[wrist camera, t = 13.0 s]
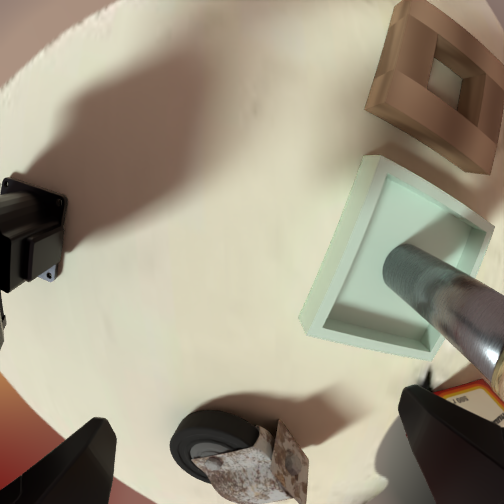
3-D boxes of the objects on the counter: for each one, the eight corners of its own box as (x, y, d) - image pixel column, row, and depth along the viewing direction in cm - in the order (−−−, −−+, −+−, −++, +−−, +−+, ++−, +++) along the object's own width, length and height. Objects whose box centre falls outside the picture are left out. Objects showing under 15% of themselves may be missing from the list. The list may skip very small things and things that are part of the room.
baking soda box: (482, 378, 26) (555, 459, 11) (461, 417, 28) (520, 497, 12) (426, 394, 25) (502, 502, 10) (405, 434, 27) (461, 536, 12)
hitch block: (364, 109, 18) (384, 102, 15) (394, 6, 15) (413, -9, 12) (464, 171, 19) (489, 175, 16) (484, 73, 17) (507, 68, 14)
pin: (371, 285, 20) (489, 406, 8) (393, 233, 19) (542, 316, 7) (410, 298, 21) (523, 402, 8) (432, 251, 20) (566, 330, 8)
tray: (298, 317, 21) (306, 335, 19) (363, 155, 18) (380, 154, 16) (417, 346, 23) (431, 361, 21) (475, 220, 20) (494, 226, 18)
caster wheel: (170, 407, 26) (260, 378, 24) (229, 477, 27) (314, 458, 25) (141, 450, 20) (245, 430, 18) (214, 520, 21) (311, 508, 18)
